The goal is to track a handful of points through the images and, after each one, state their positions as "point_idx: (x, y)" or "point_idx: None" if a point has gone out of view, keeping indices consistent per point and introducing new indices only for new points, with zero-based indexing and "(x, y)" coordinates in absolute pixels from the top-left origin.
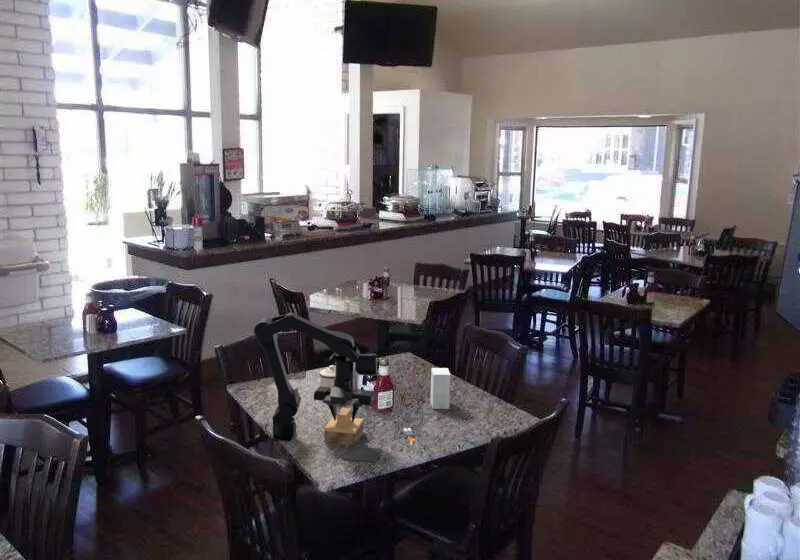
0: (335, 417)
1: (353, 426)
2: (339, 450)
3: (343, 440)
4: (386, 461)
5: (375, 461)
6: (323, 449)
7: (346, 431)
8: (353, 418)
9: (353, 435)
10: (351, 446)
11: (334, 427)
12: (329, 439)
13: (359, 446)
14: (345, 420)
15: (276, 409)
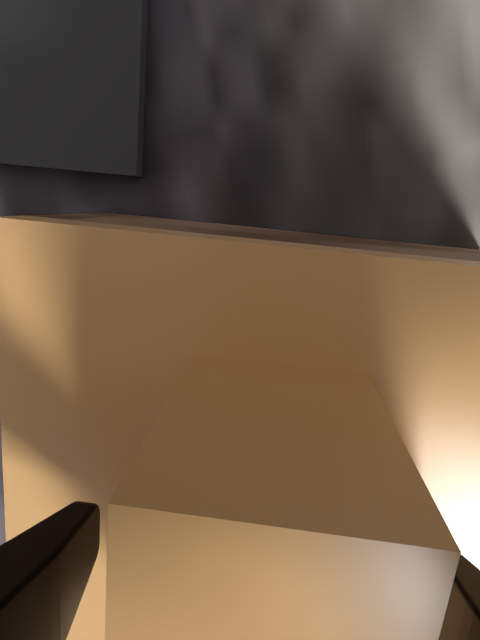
0: (454, 602)
1: (73, 403)
2: (260, 49)
3: (237, 228)
4: None
5: None
6: (474, 41)
7: (165, 231)
8: (22, 542)
9: (66, 218)
10: (124, 144)
11: (411, 322)
12: (432, 247)
13: (31, 160)
14: (176, 417)
15: None
